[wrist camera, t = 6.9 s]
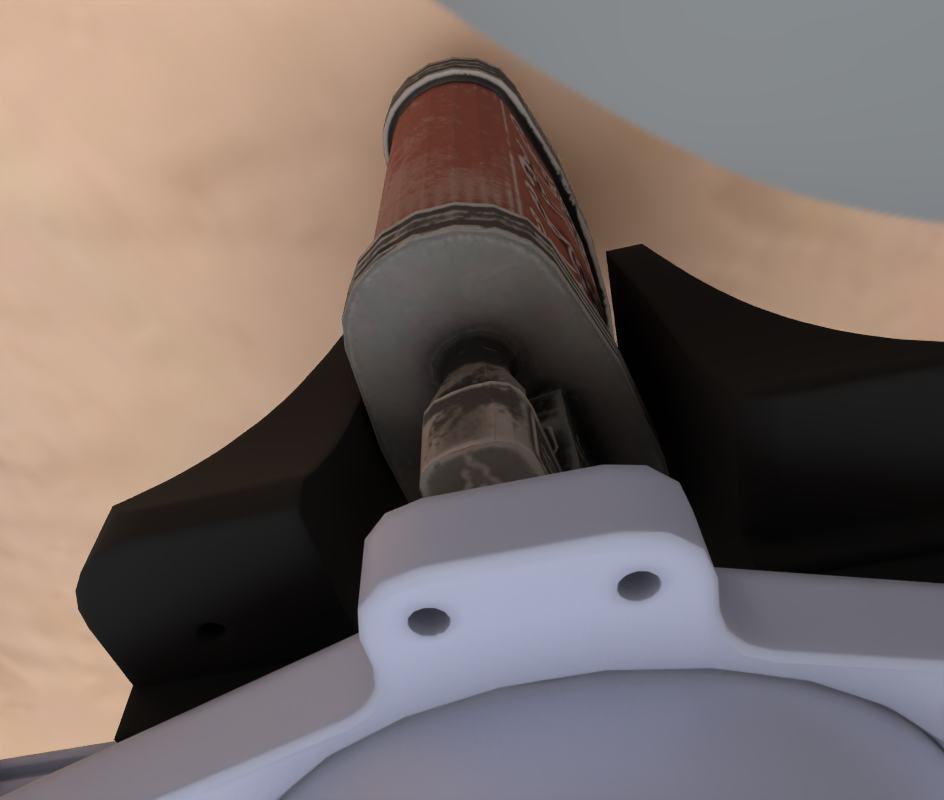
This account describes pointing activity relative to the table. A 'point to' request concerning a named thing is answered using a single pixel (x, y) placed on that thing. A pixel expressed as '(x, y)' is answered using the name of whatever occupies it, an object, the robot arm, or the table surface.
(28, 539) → the table surface
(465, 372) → the lighter
